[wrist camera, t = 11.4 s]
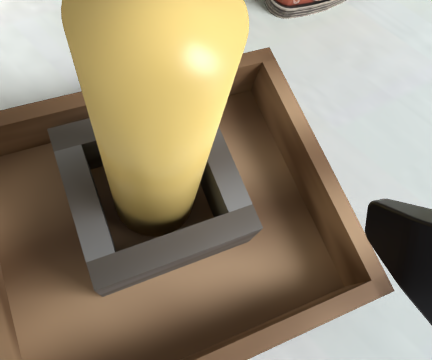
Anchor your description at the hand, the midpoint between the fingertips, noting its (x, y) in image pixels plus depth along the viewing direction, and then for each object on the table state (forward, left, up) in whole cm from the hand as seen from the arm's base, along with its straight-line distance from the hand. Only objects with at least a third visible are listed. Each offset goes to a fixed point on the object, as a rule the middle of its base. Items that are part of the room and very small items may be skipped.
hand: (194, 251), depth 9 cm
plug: (+5, -1, -11) cm, 12 cm away
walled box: (+3, -1, -12) cm, 12 cm away
